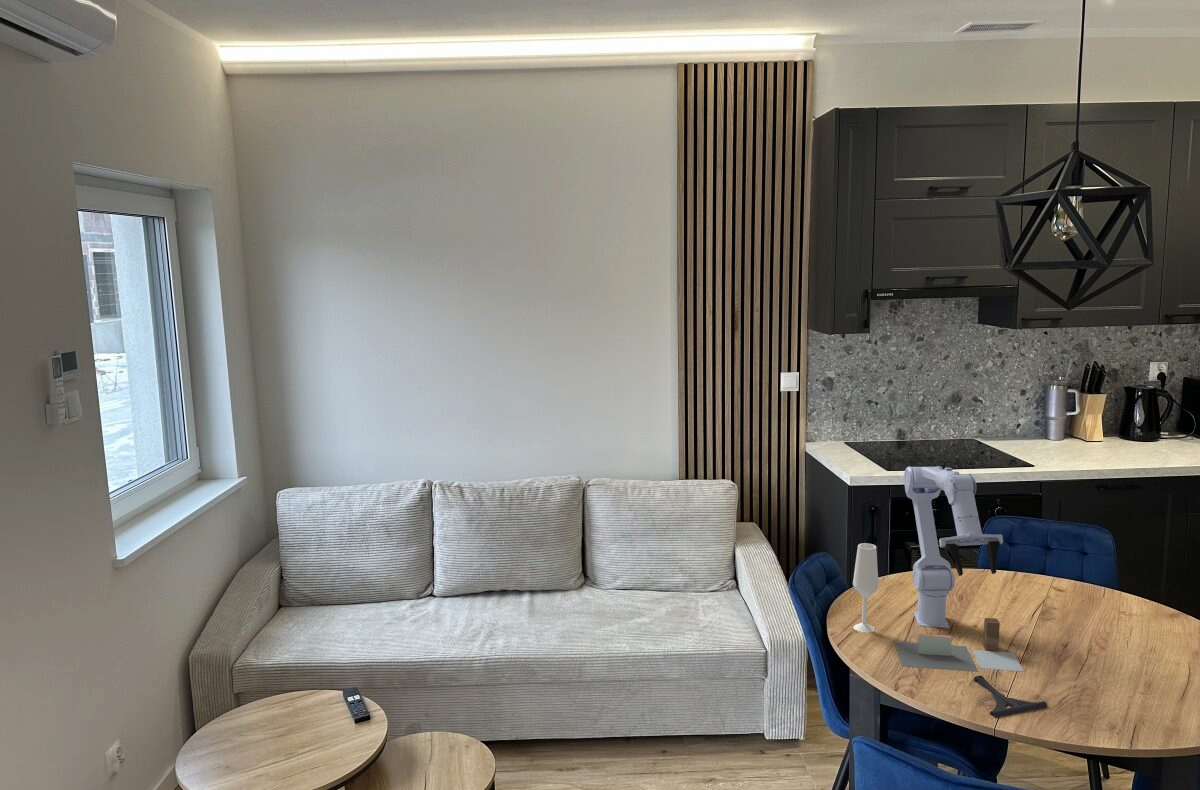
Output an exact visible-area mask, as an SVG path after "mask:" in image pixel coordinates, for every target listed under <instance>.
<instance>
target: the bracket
mask: <svg viewBox="0 0 1200 790" xmlns="http://www.w3.org/2000/svg"><path fill="white" fill-rule="evenodd" d="M973 681H974V682H978V685H980V686H981V687H983V688H984V689H986V690H987V691H988V692H990V693H991V695H992V697H993V699H994V701H995V707H994V708H993V709H992V710H991V711H990V712H989V715H990V716H993V718H1000V717H1004V716H1005V717H1006V716H1011V715H1016V714H1019V713H1020V714H1021V713H1025V712H1030V711H1031V712H1032V711H1035V710H1040V709H1045V708H1048V703H1047V702H1046V701H1045V700H1043V701H1038V702H1035V701H1027V700H1023V699H1022V700H1021V699H1017V698H1013V697H1006V695H1005V694H1003V693H1001V692H999V690H997V689H996V688H995V687H993V686H992V685H991V684H990V683H989V682H988V681H987V679H985V677H984V676H983V675H976V676H974V677H973ZM1006 706H1008V707H1006ZM992 714H993V715H992Z"/></svg>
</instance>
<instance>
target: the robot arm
mask: <svg viewBox="0 0 1200 790" xmlns="http://www.w3.org/2000/svg"><path fill="white" fill-rule="evenodd" d="M903 482H904V483H903V484H904V491H905V494H906V497H907V498H908V499H910V500H912V505H913V511H914V516H915V523H916V530H917V535H918V543H919V549H920V555H921V557H920V558H919V559H917V561H916V562H914V563H913V566H912V571H913V573H912V583H913V586H914V588H915V590H916V591H918V593H917V596H918V597H917V608H916V609H917V610H914V611H913V615H914V617H915V619H916V622H917V625H918V626H919V627H931V628H945V629H948V628H950V624H949V623H948V621H947V617H946V615H947V602H948V601H947V599H948V598H947V597H948V595H950V592H951V591H953V590H954V588H955V584H956V579H955V574H954V571H953V569H952V566H951V564H950V562H949V561H948V560H947V559H945V558H944V557H942V556H941V554H940V549H941V548H944V551H945V554H946V555H947V556H948V557H949V559H950V560H951V562H952V563H953V566H954V568H955V569H956V571H957V574H958V576H959V577H960V576H961V577H962V576H963V574H964V572H963V566H962V563H961V558H960V549H959V546H960V547H961V546H977V545H978V546H979V545H986V549H985V551H986V555H987V557H988V561H989V562H988V563H989V567H990V572H991V575H995V574H996V573H997V559H998V553H999V549H1000V545H1003V543H1004V539H1003V538H1004V537H1003V534H990V533H987V534H986V533H983V532H982V527H981V523H980V519H979V512H978V508H977V505H976V504H977V503H976V498H975V495H976V494H977V493H976V492H977V482H976V478H975V477H974V476H973V474H971V473H969V474H961V473H960V472H959V471H956V470H955V471H954V470H953V468H952V467H944V469H943V466H940V465H936V466H907V467H906V468H905V470H904V473H903ZM941 491H944V494H945V496H946V497H947V500H948V503H949V505H951V510H952V516H953V520H954V525H955V530H956V536H950V537H940V538H939V540H938V537H937V531H936V525H935V524H936V523H935V516H934V512H933V506H932V505H933V504H932V502H933V501H932V500H933V499H937V498H938V497H939V495H940V493H941ZM939 547H940V549H939Z"/></svg>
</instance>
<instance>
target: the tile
mask: <svg viewBox="0 0 1200 790" xmlns="http://www.w3.org/2000/svg"><path fill="white" fill-rule="evenodd" d="M952 640H953V639H952V636H951V635H945V634H944V635H943V634H942V635H941V634H926V633H917V643H918V644H917V653H918V654H928V655H942V656H951V645H952V642H953V641H952Z"/></svg>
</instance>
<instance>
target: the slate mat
mask: <svg viewBox="0 0 1200 790" xmlns="http://www.w3.org/2000/svg"><path fill="white" fill-rule="evenodd" d="M917 644H918V642H911V641H910V642H909V641H899V640H898V641H897V640H896V641H895V640H894V646H895V649H896V652H897V655H898V658H899V659H898V660H899V662H900V665H901V667H909V668H922V669H937V670H949V671H963V672H976V673H978V672H979V670H978V669H977V668H978V667H977V666H976V664H975V662H974V660H973V658H972V656H971V653H970V652H969V650H968V647H967V646H966V645H956V644H955V645H952V644H951V656H942V655H928V654H918V653H917Z"/></svg>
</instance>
